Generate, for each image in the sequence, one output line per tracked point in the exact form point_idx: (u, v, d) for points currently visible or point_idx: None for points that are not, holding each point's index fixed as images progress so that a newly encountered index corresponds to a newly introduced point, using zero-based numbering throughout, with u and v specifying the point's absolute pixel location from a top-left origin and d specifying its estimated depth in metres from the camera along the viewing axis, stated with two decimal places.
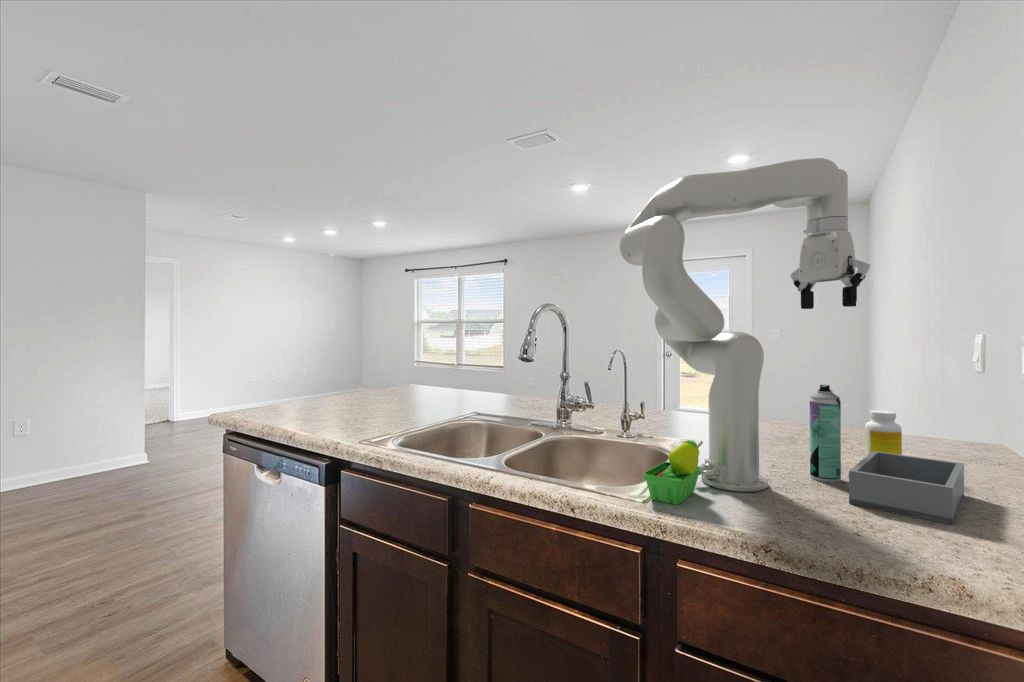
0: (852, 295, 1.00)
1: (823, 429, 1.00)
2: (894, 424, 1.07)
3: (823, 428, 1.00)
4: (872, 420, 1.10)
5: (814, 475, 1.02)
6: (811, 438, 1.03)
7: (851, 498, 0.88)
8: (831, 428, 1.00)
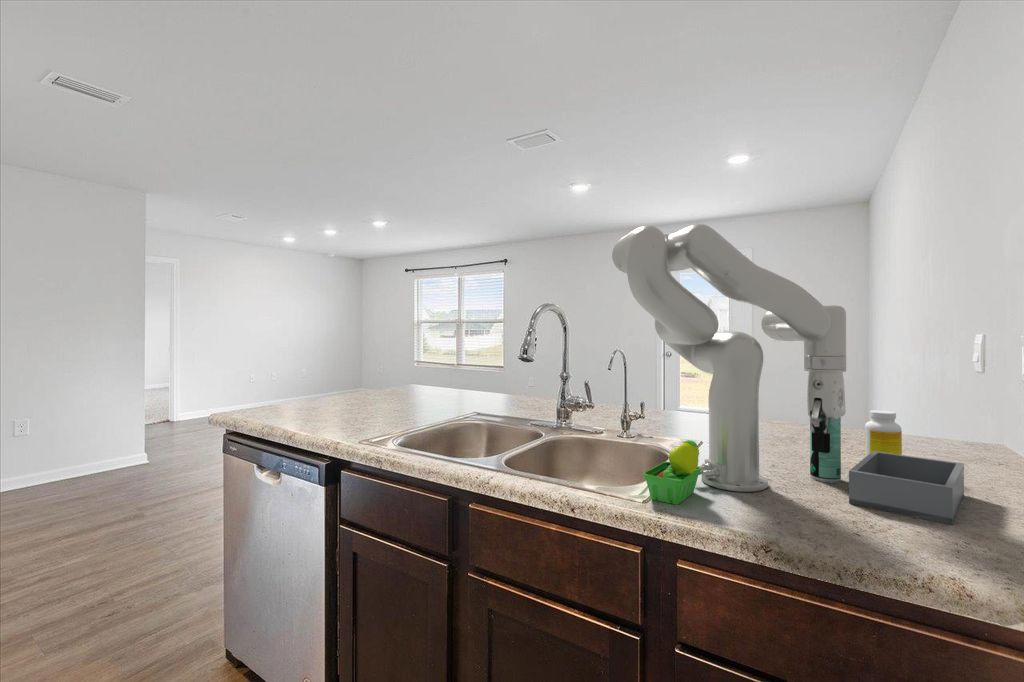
0: None
1: None
2: (894, 424, 1.07)
3: None
4: (872, 420, 1.10)
5: (814, 475, 1.02)
6: (811, 438, 1.03)
7: (851, 498, 0.88)
8: (831, 428, 1.00)
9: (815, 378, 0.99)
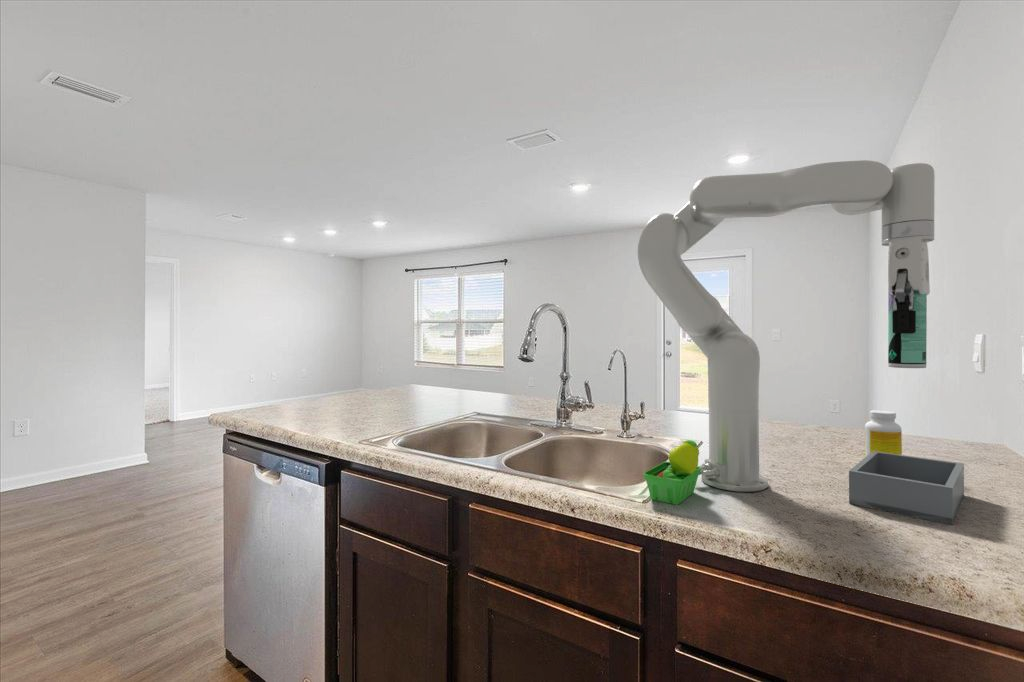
0: None
1: None
2: (894, 424, 1.07)
3: None
4: (872, 420, 1.10)
5: (895, 362, 0.89)
6: (891, 320, 0.90)
7: (851, 498, 0.88)
8: (916, 305, 0.86)
9: (899, 247, 0.86)
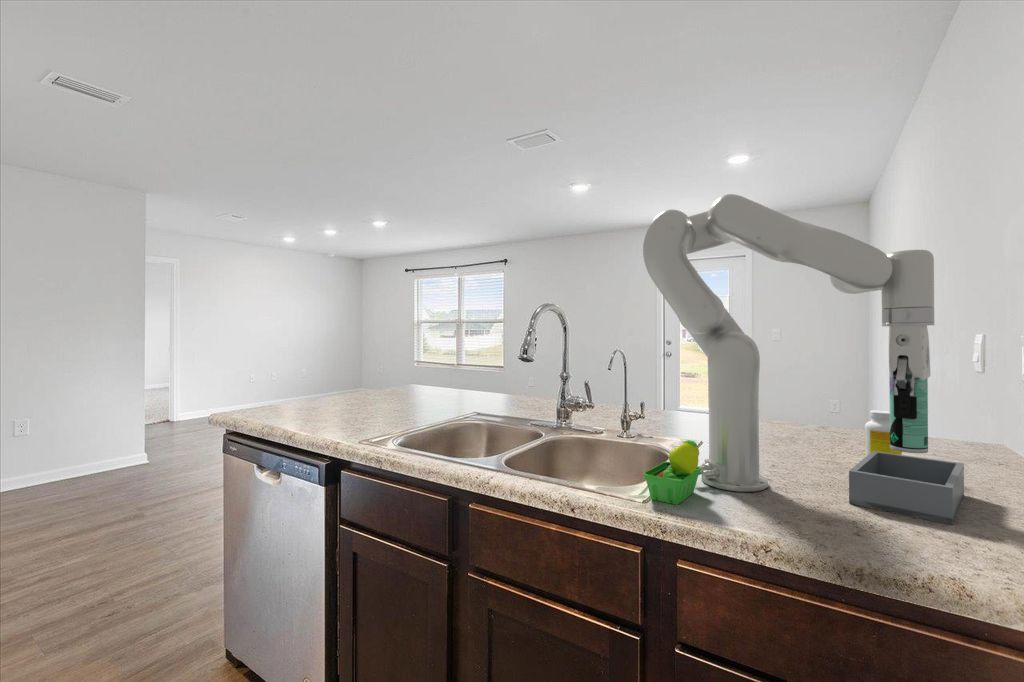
0: None
1: None
2: None
3: None
4: (872, 420, 1.10)
5: (896, 445, 0.89)
6: (892, 403, 0.90)
7: (851, 498, 0.88)
8: (917, 391, 0.87)
9: (899, 333, 0.86)
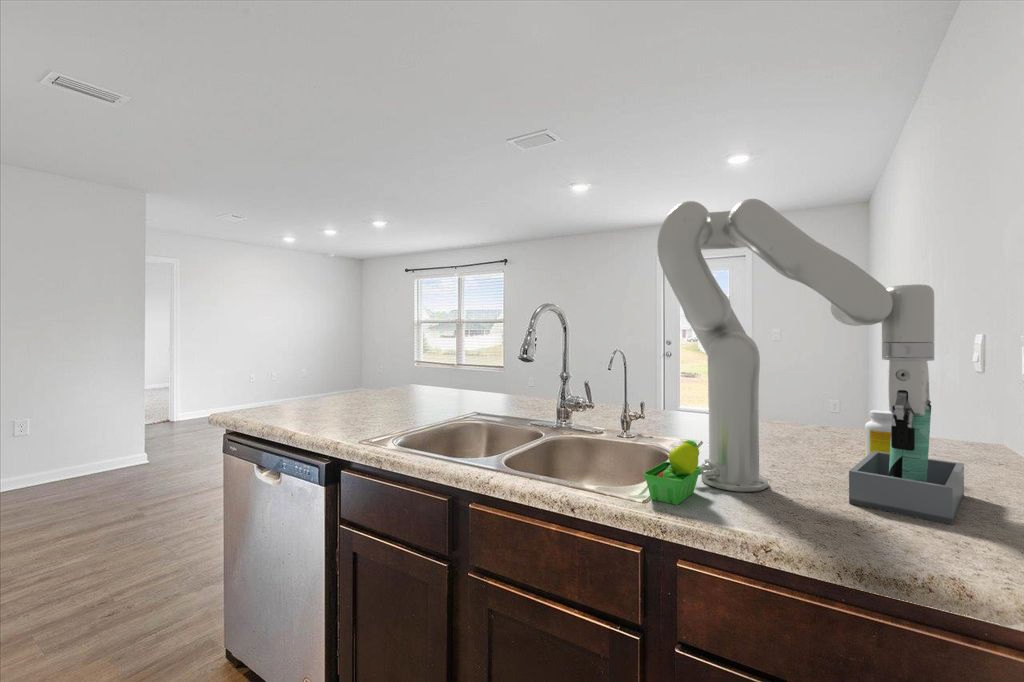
0: None
1: None
2: None
3: None
4: (872, 420, 1.10)
5: None
6: None
7: (851, 498, 0.88)
8: (919, 437, 0.86)
9: (899, 368, 0.87)
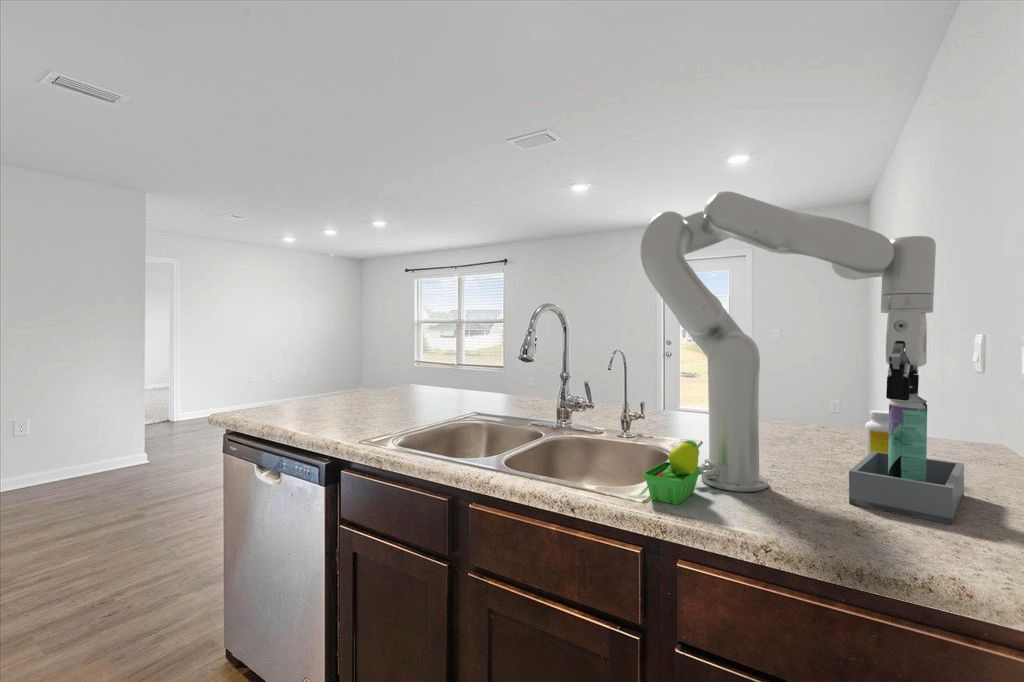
0: None
1: (907, 436, 0.87)
2: None
3: (907, 436, 0.87)
4: (872, 420, 1.10)
5: None
6: (891, 447, 0.90)
7: (851, 498, 0.88)
8: (917, 436, 0.87)
9: (897, 319, 0.86)
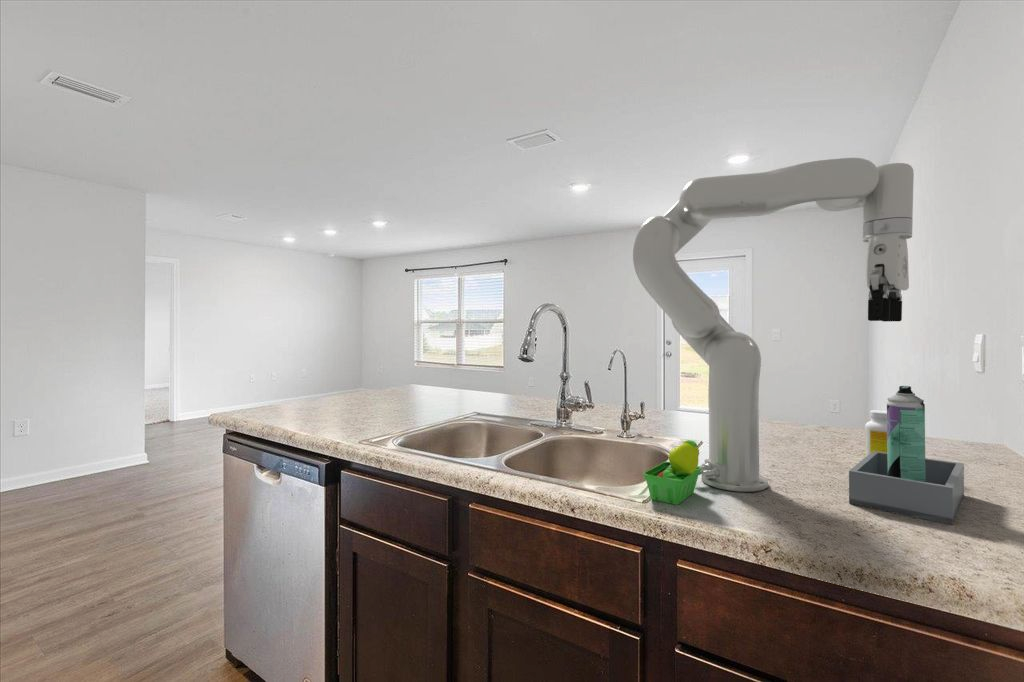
0: None
1: (906, 436, 0.88)
2: None
3: (905, 436, 0.88)
4: (872, 420, 1.10)
5: None
6: (890, 447, 0.90)
7: (851, 498, 0.88)
8: (915, 436, 0.87)
9: (877, 243, 0.90)
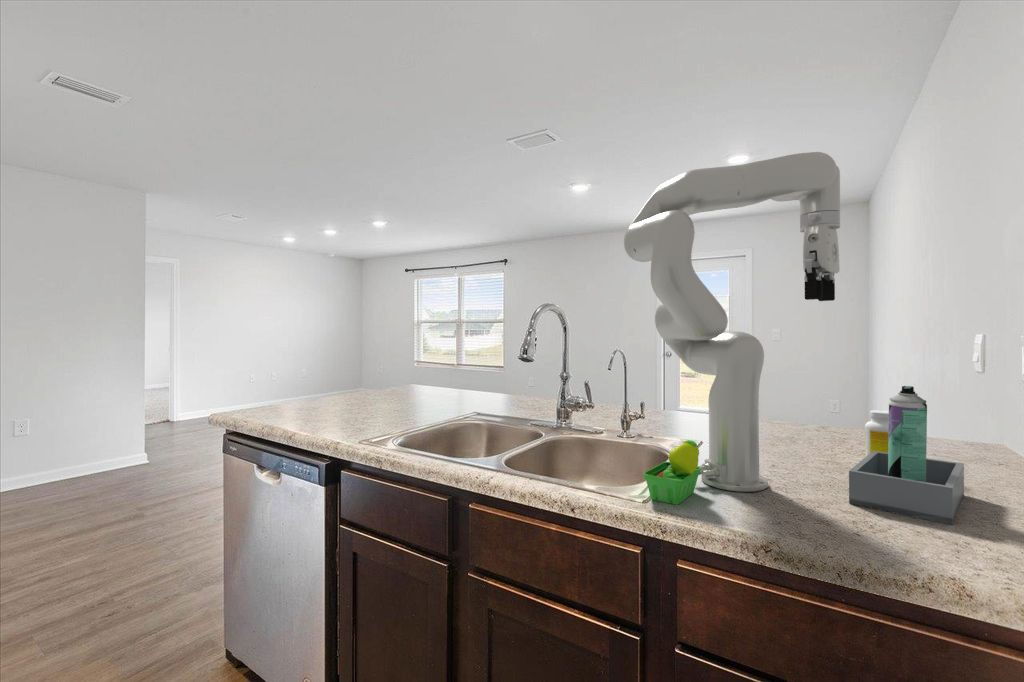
0: None
1: (907, 436, 0.87)
2: None
3: (907, 436, 0.87)
4: (872, 420, 1.10)
5: None
6: (891, 447, 0.90)
7: (851, 498, 0.88)
8: (916, 436, 0.87)
9: (810, 233, 1.05)
